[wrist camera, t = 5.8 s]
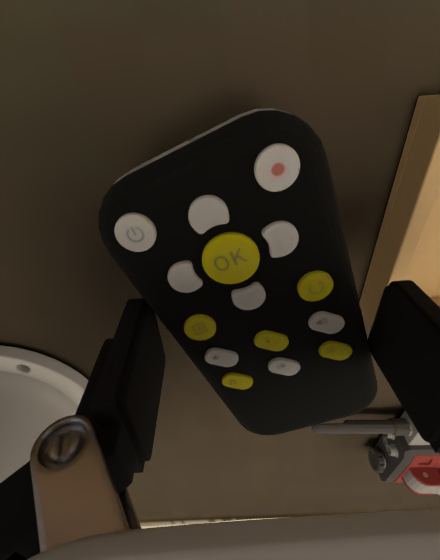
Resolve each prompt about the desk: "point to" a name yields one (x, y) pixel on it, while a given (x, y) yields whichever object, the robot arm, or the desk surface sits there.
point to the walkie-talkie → (396, 452)
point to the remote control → (249, 269)
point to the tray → (411, 215)
